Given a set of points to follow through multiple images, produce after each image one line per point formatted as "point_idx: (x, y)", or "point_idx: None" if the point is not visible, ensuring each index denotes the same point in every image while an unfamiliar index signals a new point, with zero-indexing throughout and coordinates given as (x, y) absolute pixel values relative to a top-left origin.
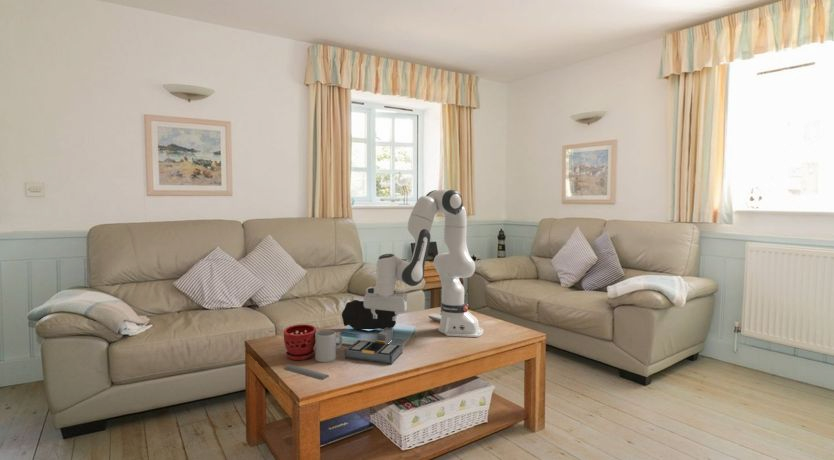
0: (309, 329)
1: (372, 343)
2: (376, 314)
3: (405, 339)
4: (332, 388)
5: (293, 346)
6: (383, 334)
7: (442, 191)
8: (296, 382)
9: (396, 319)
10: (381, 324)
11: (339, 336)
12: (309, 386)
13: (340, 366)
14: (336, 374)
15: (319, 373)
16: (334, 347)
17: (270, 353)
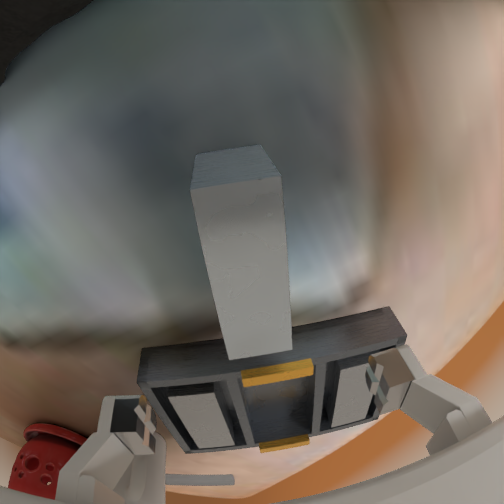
0: (33, 486)
1: (239, 385)
2: (132, 438)
3: (342, 81)
4: (275, 483)
5: None
6: (275, 352)
7: None
8: (193, 491)
9: (409, 351)
10: (33, 15)
11: (143, 487)
12: (228, 491)
13: (218, 452)
14: (242, 468)
15: (214, 485)
16: (163, 476)
17: (5, 433)
